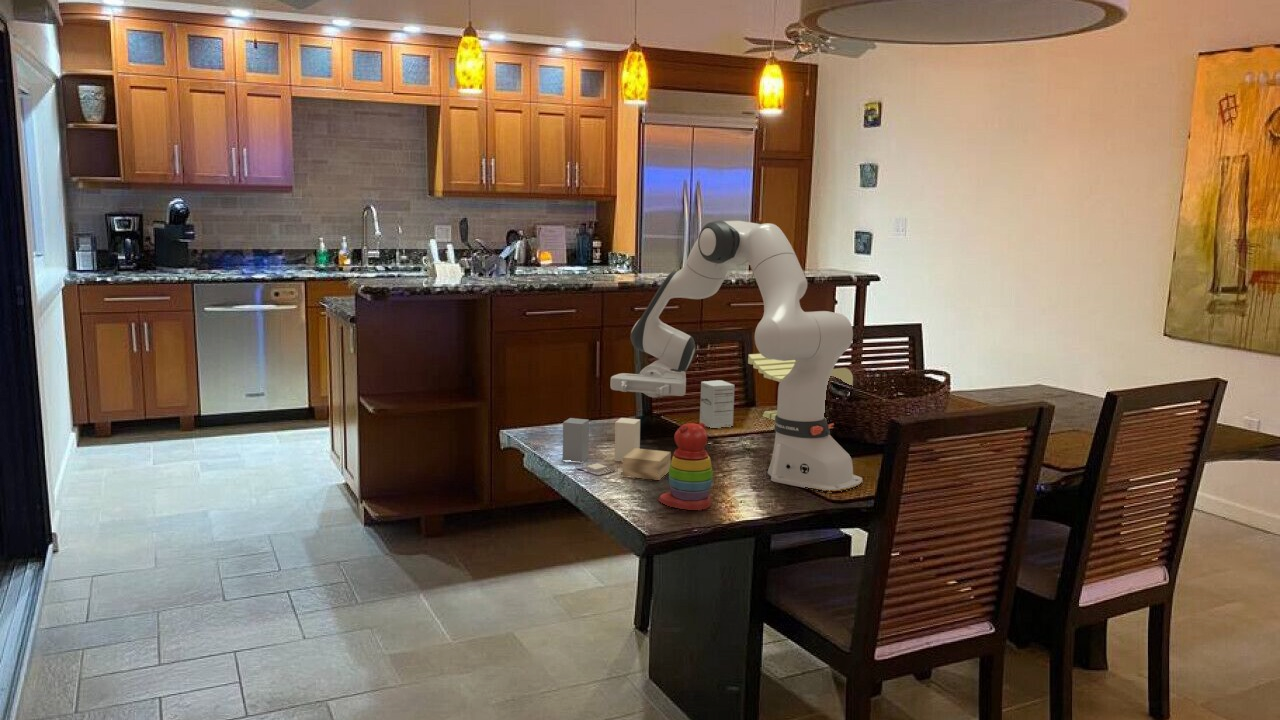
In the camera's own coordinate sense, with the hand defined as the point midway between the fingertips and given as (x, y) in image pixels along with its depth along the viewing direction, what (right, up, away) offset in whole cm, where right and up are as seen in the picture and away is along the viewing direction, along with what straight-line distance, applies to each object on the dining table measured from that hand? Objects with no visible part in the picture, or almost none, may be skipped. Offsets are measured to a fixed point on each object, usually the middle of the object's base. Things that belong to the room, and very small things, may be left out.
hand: (641, 390), depth 248 cm
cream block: (-3, -17, -9) cm, 20 cm away
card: (-11, -19, -19) cm, 29 cm away
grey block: (-16, -17, -10) cm, 26 cm away
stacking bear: (+10, -23, -43) cm, 50 cm away
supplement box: (+22, -11, +29) cm, 38 cm away
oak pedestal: (+1, -19, -21) cm, 29 cm away
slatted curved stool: (+47, -10, +39) cm, 62 cm away
